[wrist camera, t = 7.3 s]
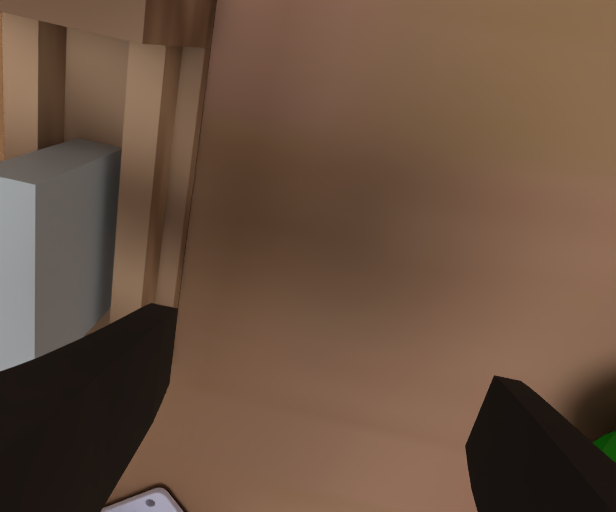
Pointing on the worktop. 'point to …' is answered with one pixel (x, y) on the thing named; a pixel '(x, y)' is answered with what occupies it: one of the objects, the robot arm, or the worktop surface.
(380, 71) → the worktop surface
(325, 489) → the worktop surface
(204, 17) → the sill track
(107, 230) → the grey rectangular block
